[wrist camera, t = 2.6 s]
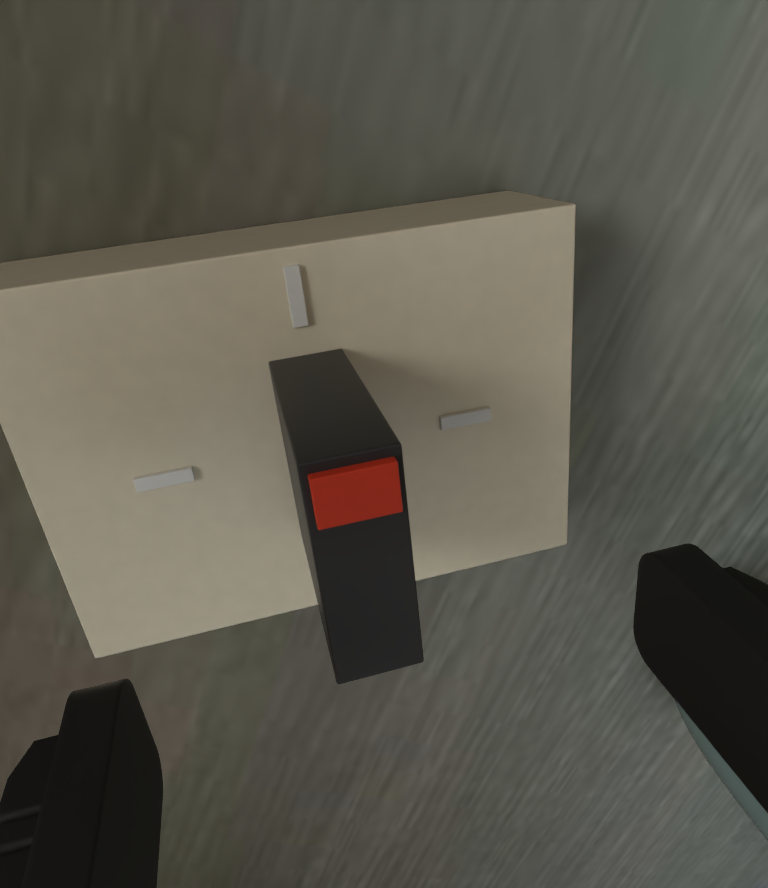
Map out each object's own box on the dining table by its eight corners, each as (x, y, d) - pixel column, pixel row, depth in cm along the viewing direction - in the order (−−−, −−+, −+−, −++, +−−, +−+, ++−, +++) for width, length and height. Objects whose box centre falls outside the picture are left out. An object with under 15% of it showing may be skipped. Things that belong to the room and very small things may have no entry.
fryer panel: (112, 573, 22) (93, 663, 18) (0, 262, 17) (-55, 299, 13) (514, 483, 24) (570, 548, 20) (509, 189, 19) (580, 204, 16)
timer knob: (366, 521, 18) (428, 671, 13) (301, 535, 18) (339, 694, 13) (342, 347, 16) (405, 449, 11) (267, 360, 16) (297, 472, 11)
